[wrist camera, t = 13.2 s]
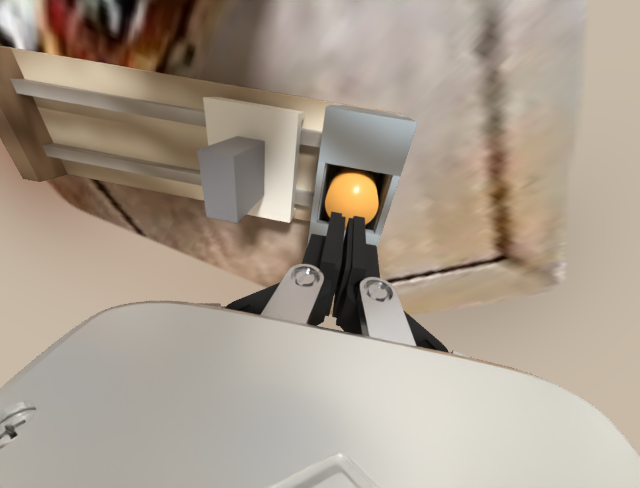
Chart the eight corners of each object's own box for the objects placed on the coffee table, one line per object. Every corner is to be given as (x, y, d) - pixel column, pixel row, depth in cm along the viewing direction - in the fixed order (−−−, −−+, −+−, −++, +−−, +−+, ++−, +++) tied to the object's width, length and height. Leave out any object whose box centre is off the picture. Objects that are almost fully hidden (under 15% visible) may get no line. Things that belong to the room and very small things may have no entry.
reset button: (335, 157, 21) (329, 173, 17) (380, 165, 21) (385, 184, 17) (328, 199, 23) (321, 222, 19) (369, 207, 23) (370, 232, 19)
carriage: (218, 96, 22) (147, 98, 14) (304, 111, 21) (275, 121, 14) (226, 199, 27) (178, 237, 20) (295, 212, 27) (271, 256, 20)
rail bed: (11, 47, 24) (-127, 29, 17) (400, 113, 22) (417, 122, 15) (65, 168, 30) (-19, 189, 24) (368, 226, 28) (370, 267, 22)
